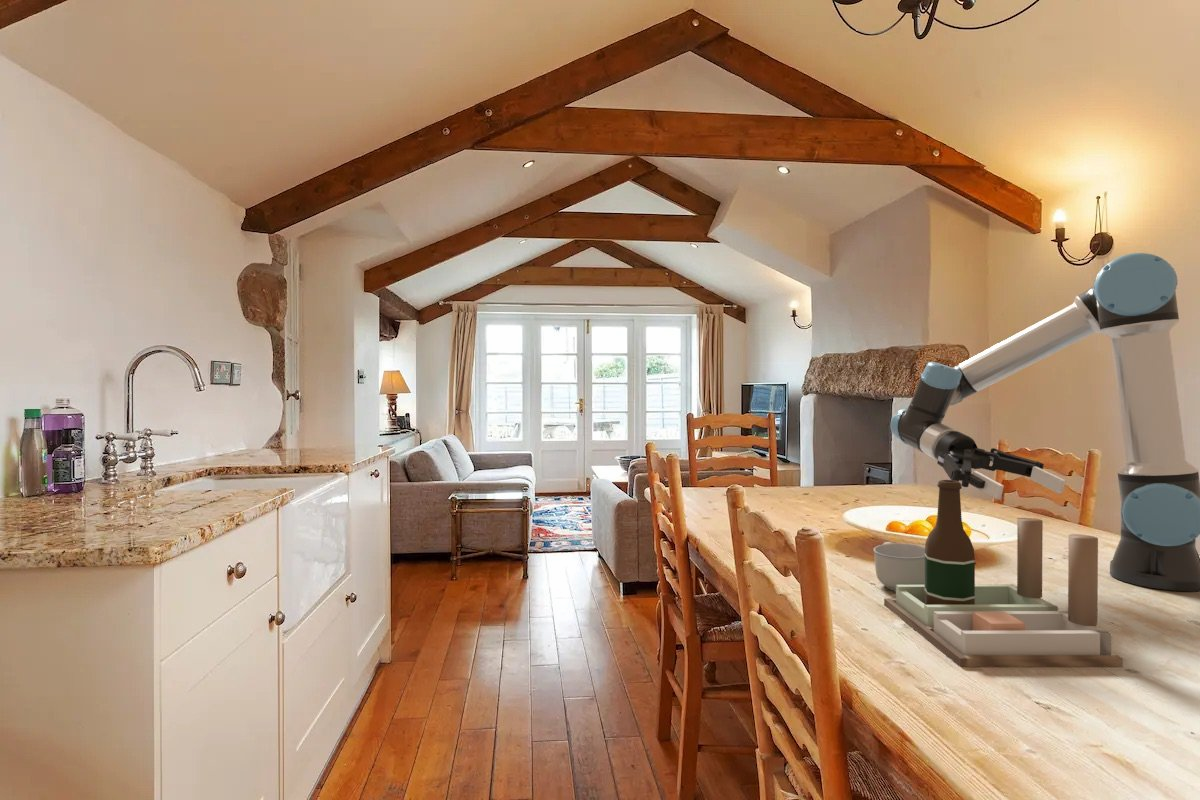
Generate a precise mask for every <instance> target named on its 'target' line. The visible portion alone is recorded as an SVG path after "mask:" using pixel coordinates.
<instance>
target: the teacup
mask: <svg viewBox="0 0 1200 800" xmlns="http://www.w3.org/2000/svg"><path fill="white" fill-rule="evenodd" d="M873 554H874V565H875V567H874V568H875V574H876V578H877V579H878V580H879V582H880V583H881V584H882V585H884V586H885V587H886V588H887V589H888V590H891V591H893V592H896V585H925V545H920V544H915V543H907V542H905V543H902V542H901V543H900V542H898V543H896V542H891V541H885V542H884V543H882V544H879V545H877V546H875V547H873Z"/></svg>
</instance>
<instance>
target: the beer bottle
mask: <svg viewBox="0 0 1200 800" xmlns="http://www.w3.org/2000/svg"><path fill="white" fill-rule="evenodd" d="M961 484H962V482H961V481H959V482H958V481H955V480H951V479H942V480H938V483H937V485H936V486H937V487H938V488H939V489H938V499H937V515H936V522H935V526H934V527H933V528H932V529H931V531H930V532H929V533H928V535H927V539H926V540H925V545H924V546H925V605H975V584H976V582H975V581H976V580H975V579H976V578H975V576H976V573H975V572H976V567H975V566H976V559H975V548H974V546H973V543H972V540H971V539H970V537H969V536H968V534H967V533H966V531H965V529H964V524H963V520H962V519H963V517H962V506H961V492H960V491H961V489H962V487H963V486H961Z"/></svg>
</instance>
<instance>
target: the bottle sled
mask: <svg viewBox="0 0 1200 800" xmlns="http://www.w3.org/2000/svg"><path fill="white" fill-rule="evenodd" d="M1043 525H1044V523H1043V520H1042V519H1040V518H1035V517H1018V518H1017V530H1016V531H1017V535H1016V536H1017V537H1016V538H1017V539H1016V540H1017V544H1016V546H1017V547H1016V548H1017V549H1016V550H1017V551H1016V552H1017V553H1016V554H1017V555H1016V556H1017V557H1016V558H1017V560H1016V561H1017V563H1016V566H1017V567H1016V571H1017V573H1016V576H1017V578H1016V585H1015V584H1012V583H1011V584H1010V583H1009V584H1005V583H1004V584H1002V583H1001V584H1000V583H999V584H992V583H991V584H990V583H989V584H981V583H980V584H976V583H975V605H925V585H896V591H895V598H896V604H898V605H899V606H900V607H901V608H903V609H904V610H905V611H907V612H908V613H909V614H910V615H912V616H913V617H914V618H916V619H917V620H918V621H920V622H921V623H922V624H923V625H925V626H926V627H927V626H934V611H1059V606H1057V605H1055V604H1053V603H1052V602H1049V601H1047V600H1046V599H1043V539H1044V537H1043V535H1044V534H1043V532H1044V531H1043V528H1044V527H1043Z"/></svg>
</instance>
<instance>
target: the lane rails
mask: <svg viewBox="0 0 1200 800" xmlns="http://www.w3.org/2000/svg"><path fill="white" fill-rule="evenodd" d="M883 602H884V603H883V605H884V606H885V607H886V608H887V609H889V610H890V611H891V612H892V613H894V614H895V615H896V616H897V617H898V618H899V619H901V620H902V621H903V622H905V624H907V625H908V626H909V627H911V628H912V629H913V630H914V631H916V632H917V633H918V634H919V635H920V636H922V637H923V638H924V639H926V640H927V641H928V642H929V643H931V644H932V645H933V646H934V647H935V648H937V649H938V650H939V651H940V652H941V653H943V654H944V655H945V656H947V657H948V659H950V660H951V661H953V663H955V664H956V665H957V666H959V667H965V668H966V667H967V668H968V667H971V668H973V667H975V668H976V667H979V668H980V667H981V668H982V667H985V668H986V667H988V668H989V667H992V668H994V667H995V668H996V667H998V668H999V667H1000V668H1001V667H1003V668H1004V667H1005V668H1007V667H1009V668H1010V667H1011V668H1012V667H1013V668H1016V667H1021V668H1023V667H1025V668H1026V667H1029V668H1031V667H1033V668H1034V667H1036V668H1037V667H1038V668H1039V667H1040V668H1041V667H1049V668H1050V667H1052V668H1053V667H1062V668H1063V667H1069V668H1070V667H1101V668H1102V667H1115V668H1117V667H1123V666H1124V665H1123V664H1124V663H1123V662H1124V658H1123V657H1121V656H1120V655H1117V654H1116V655H1114V654H1113V655H1112V654H1111V655H962V654H961V653H960V652H958V651H957V650H956V649H954V648H953V647H952V646H951V645H949V644H948V643H947V642H945V641H944V640H943V639H942V638H940V637H939V636H938V635H936V634H935V633H934V626H927V627H926V626H925V625H923V624H922V623H921V622H920V621H918V620H917V619H916V618H914V617H913V616H912V615H910V614H909V613H908V612H907V611H905V610H904V609H903V608H901V607H900V606H899V605H898V604H896V597H895V598H894V597H893V598H890V597H886V598H884V599H883Z"/></svg>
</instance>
